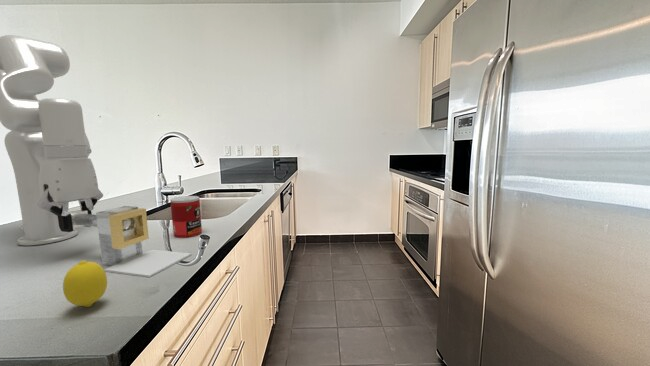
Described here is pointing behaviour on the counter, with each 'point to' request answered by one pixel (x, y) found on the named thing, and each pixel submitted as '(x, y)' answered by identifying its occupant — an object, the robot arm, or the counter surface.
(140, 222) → the frame
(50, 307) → the counter surface
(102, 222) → the bearing block
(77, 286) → the lemon
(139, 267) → the mat
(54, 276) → the counter surface
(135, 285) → the counter surface
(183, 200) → the canned food
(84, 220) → the shaft
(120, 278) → the counter surface
